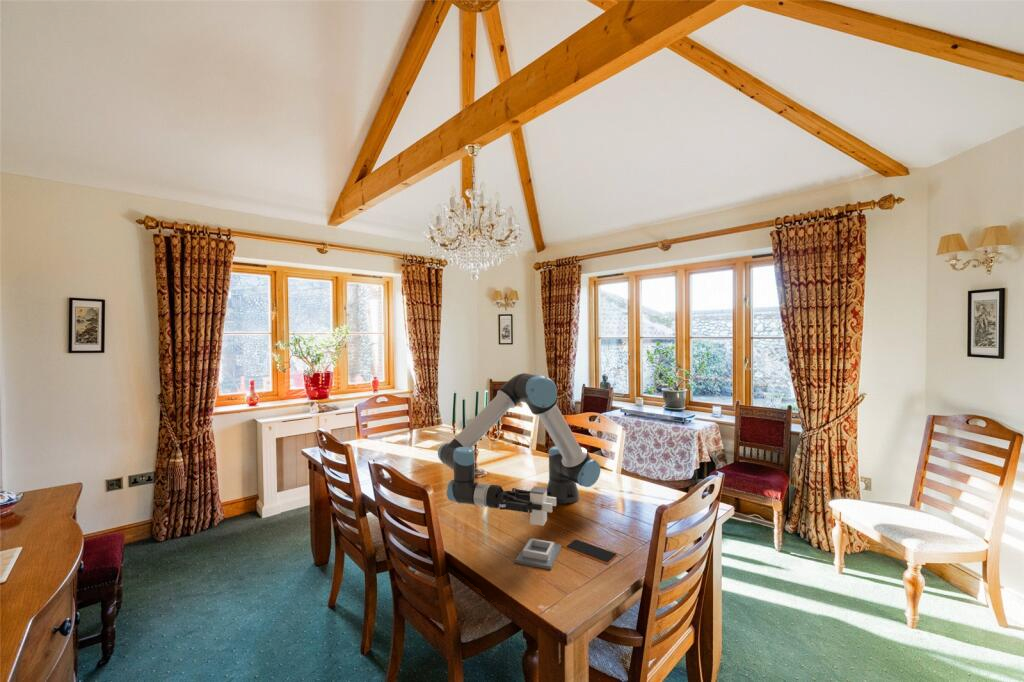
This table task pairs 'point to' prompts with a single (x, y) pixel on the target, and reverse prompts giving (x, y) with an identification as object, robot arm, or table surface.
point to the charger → (540, 496)
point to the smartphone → (591, 551)
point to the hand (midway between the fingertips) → (553, 504)
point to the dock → (538, 553)
